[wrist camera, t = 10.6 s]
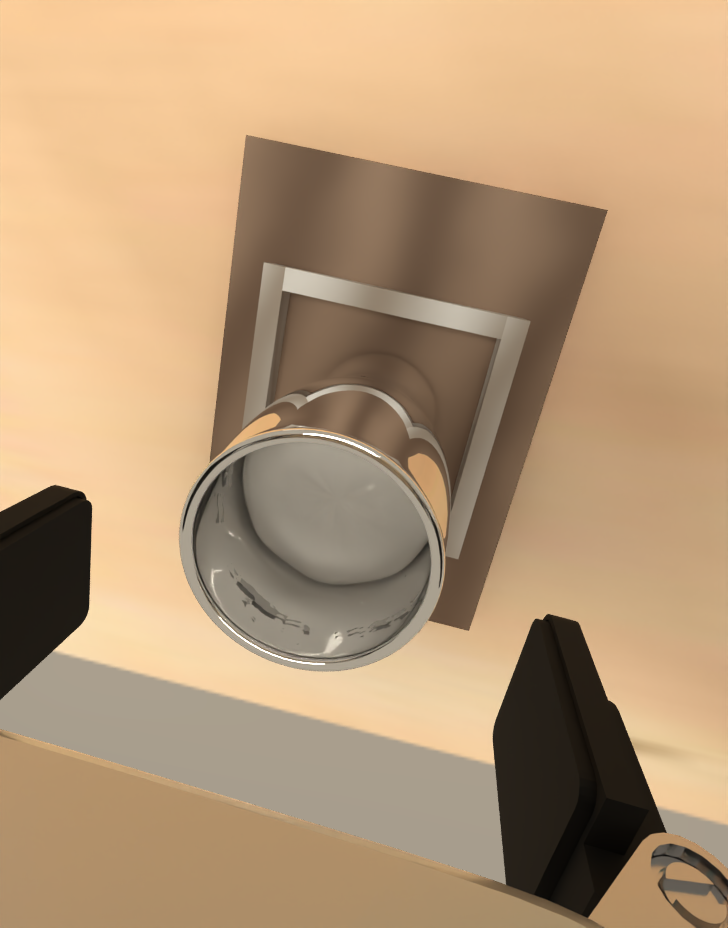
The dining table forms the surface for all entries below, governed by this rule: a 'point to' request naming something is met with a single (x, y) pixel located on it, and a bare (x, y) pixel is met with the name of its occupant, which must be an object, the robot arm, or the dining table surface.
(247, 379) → the walnut board
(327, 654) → the beer glass
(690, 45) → the dining table surface
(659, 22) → the dining table surface
